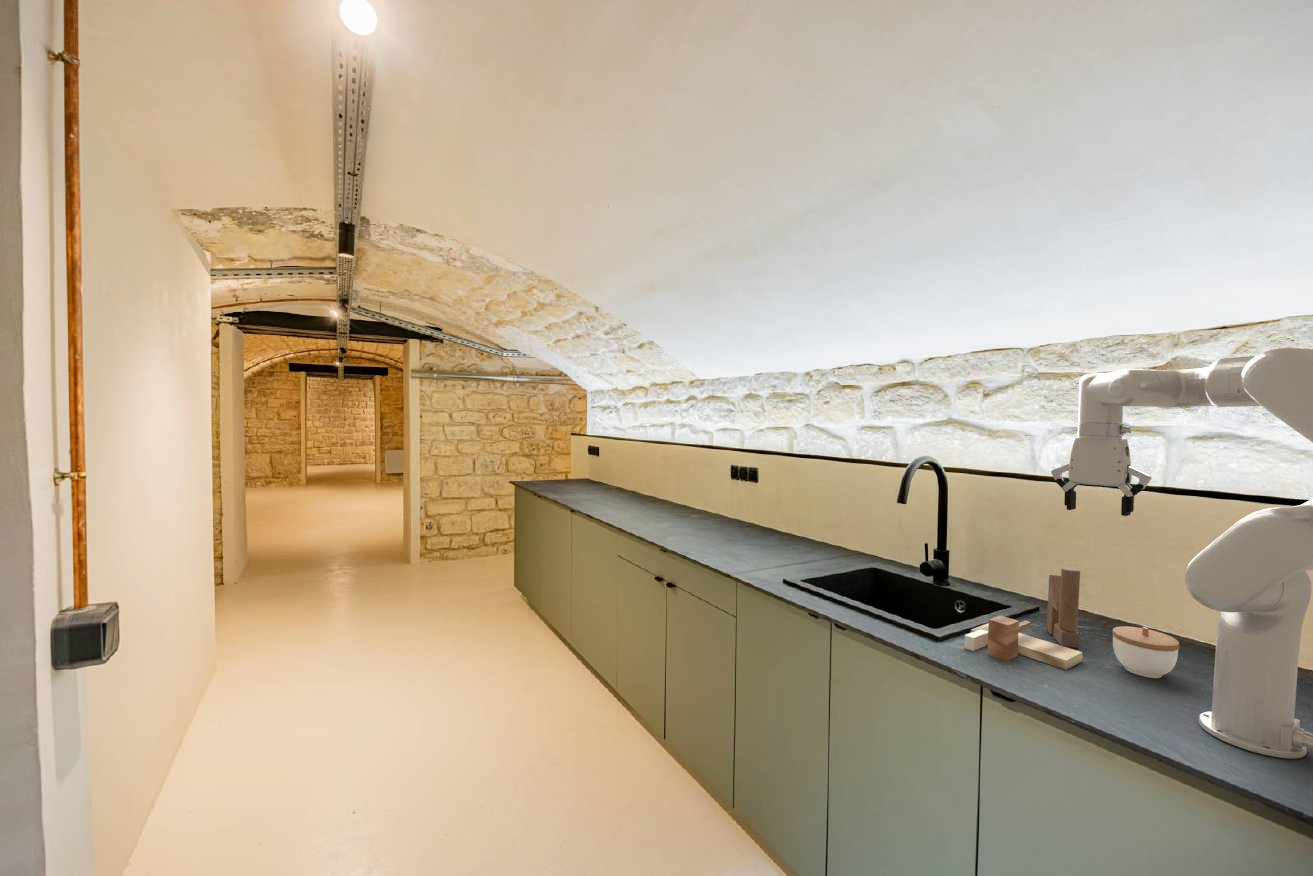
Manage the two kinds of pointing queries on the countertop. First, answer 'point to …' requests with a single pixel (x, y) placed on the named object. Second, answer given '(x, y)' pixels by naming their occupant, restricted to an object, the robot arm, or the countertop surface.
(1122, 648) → the lidded jar
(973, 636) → the end stop
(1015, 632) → the upright brown wood block
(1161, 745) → the countertop surface
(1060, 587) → the wooden block
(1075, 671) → the countertop surface
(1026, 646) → the oak board
